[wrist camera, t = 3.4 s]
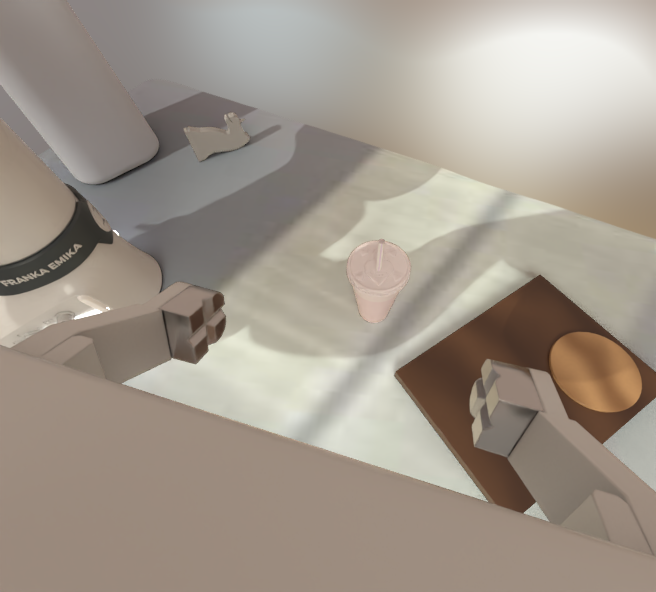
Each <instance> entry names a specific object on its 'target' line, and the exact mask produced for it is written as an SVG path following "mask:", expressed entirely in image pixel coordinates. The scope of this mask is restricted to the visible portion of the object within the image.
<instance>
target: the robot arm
mask: <svg viewBox="0 0 656 592" xmlns="http://www.w3.org/2000/svg"><path fill="white" fill-rule="evenodd" d="M161 285H162V274H161V269H160V267H159V265H158V263H157V262H156V260H155V259H154V258H153V257H152V256H150V255H149V254H147V253H145V252H143V251H141V250H139V249H137V248H136V247H134V246H133V245H131V244H130V243H128V242H127V241H126V240H124V239H123V238H122V237H120V236H119V234H118V233H117V232H116V231H113V230H112V229H111V227H110V225H109V223H108V222H107V220H106V219H105V218H104V217H103V216H102V215H101V214H100V212H99V211H98V210H97V209H96V208H95V207H94V206H93V205H92V204H91V203H90V202H89V201H88V200H86V199H85V198H84V197H83V196H82V195H81V194H80V193H79V192H78V191H77V190H76V189H75V188H73V187H72V186H70V185H68V184H65V183H63V182H62V181H61V180H60V179H59V178H58V177H57V176H56V174H55V173H54V172H53V171H52V170H51V169H50V168H49V167H48V166H47V165H46V164H45V163H44V162H43V161H42V160H41V159H40V158H39V157H38V156H37V155H36V154H35V153H34V152H33V151H32V150H31V149H30V148H29V147H28V146H27V145H26V144H25V143H24V142H23V141H22V139H20V137H19V136H18V135H16V133H15V132H14V131H13V130H12V129H11V128H10V127H9V126H8V125H7V124H6V123H5V122H4V121H3V120H2V119H1V118H0V592H656V492H655V491H654V490H653V489H651V488H650V487H649V486H648V485H647V484H646V483H645V482H644V481H643V480H641V479H640V478H639V477H638V476H637V475H636V474H635V473H634V472H632V471H631V470H630V469H629V468H628V467H627V466H626V465H625V464H623V463H622V462H621V461H620V460H619V459H618V458H617V457H616V456H614V455H613V454H612V453H611V452H610V451H609V450H608V449H607V448H605V447H604V446H603V445H602V444H601V443H600V442H599V441H598V440H596V439H595V438H594V437H593V436H592V435H591V434H590V433H589V432H587V431H586V430H585V429H584V428H583V427H582V426H581V425H580V424H578V423H577V422H576V421H574V420H570V419H569V418H568V416H567V413H566V411H565V409H564V406H563V404H562V402H561V399H560V397H559V395H558V392H557V390H556V388H555V385H554V383H553V381H552V379H551V376H550V374H548V373H547V372H545V371H541V370H536V369H532V368H527V367H526V368H525V367H520V366H516V365H512V364H508V363H504V362H500V361H495V360H491V359H487V360H486V361H485V362H484V364H483V366H482V368H481V373H482V378H480V379H478V380H476V381H475V383H474V385H473V388H472V391H471V395H470V413H471V415H472V416H473V417H474V418H475V420H474V422H473V424H472V433H473V441H474V447H477V448H480V449H483V450H486V451H489V452H492V453H495V454H498V455H502V456H505V457H508V461H509V462H510V464H511V465H512V467H513V468H514V470H515V471H516V472H517V474H518V475H519V477H520V478H521V480H522V481H523V483H524V484H525V486H526V487H527V489H528V490H529V492H530V493H531V495H532V496H533V498H534V499H535V501H536V502H537V504H538V505H539V507H540V508H541V510H542V511H543V513H544V514H545V516H546V517H547V518H548V520H549V521H550V522H548V521H545V520H542V519H539V518H536V517H533V516H529V515H526V514H523V513H520V512H517V511H514V510H511V509H508V508H505V507H502V506H498V505H495V504H492V503H489V502H486V501H483V500H480V499H477V498H474V497H471V496H467V495H464V494H461V493H458V492H455V491H452V490H449V489H446V488H443V487H440V486H436V485H433V484H430V483H427V482H424V481H421V480H418V479H415V478H412V477H409V476H405V475H402V474H399V473H396V472H393V471H390V470H387V469H384V468H381V467H378V466H374V465H371V464H368V463H365V462H362V461H359V460H356V459H353V458H350V457H347V456H343V455H340V454H337V453H334V452H331V451H328V450H325V449H322V448H319V447H316V446H313V445H309V444H306V443H303V442H300V441H297V440H294V439H291V438H288V437H285V436H282V435H278V434H275V433H272V432H269V431H266V430H263V429H260V428H257V427H254V426H251V425H247V424H244V423H241V422H238V421H235V420H232V419H229V418H226V417H223V416H219V415H216V414H213V413H210V412H207V411H204V410H201V409H198V408H195V407H191V406H188V405H185V404H182V403H179V402H176V401H173V400H170V399H167V398H163V397H160V396H157V395H154V394H151V393H148V392H145V391H142V390H139V389H136V388H133V387H129V386H126V385H123V384H121V383H123V382H125V381H127V380H129V379H131V378H133V377H136V376H138V375H140V374H142V373H144V372H146V371H148V370H150V369H152V368H154V367H156V366H158V365H161V364H163V363H165V362H167V361H169V360H171V358H174V359H177V360H181V361H185V362H189V363H193V364H197V363H198V362H199V361H200V359H201V358H202V357H203V356H204V355H205V354H206V353H207V352H208V345H210V344H213V343H216V342H217V341H218V340H219V339H220V337H221V336H222V334H223V332H224V330H225V325H226V315H225V314H224V312H223V311H222V309H221V308H222V307H223V306H224V304H225V302H224V295H223V294H222V293H221V292H218V291H214V290H211V289H207V288H203V287H200V286H196V285H192V284H188V283H184V282H175V283H174V284H172V285H171V286H170V287H168V288H167V289H165V290H164V291H162V292H161V293H159V292H160V289H161Z"/></svg>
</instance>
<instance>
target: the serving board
mask: <svg viewBox="0 0 656 592" xmlns="http://www.w3.org/2000/svg"><path fill="white" fill-rule="evenodd" d="M487 359H491V360H495V361H500V362H504V363H508V364H512V365H516V366H520V367H525V368H526V367H527V368H532V369H536V370H541V371H545V372H547V373H548V374H550V376H551V379H552V381H553V383H554V385H555V388H556V390H557V392H558V395H559V397H560V399H561V402H562V404H563V406H564V409H565V411H566V413H567V416H568V418H569V419H570V420H574V421H576V422H577V423H578V424H580V425H581V426H582V427H583V428H584V429H585V430H586V431H587V432H589V433H590V434H591V435H592V436H593V437H594V438H595V439H596V440H598V441H599V442H600V443H601V444H603V443H604V442H605V441H606V440H608V439H609V438H610V437H611V436H612V435H613V434H614V433H616V432H617V431H618V430H619V429H620V428H621V427H622V426H624V425H625V424H626V423H627V422H628V421H629V420H630V419H632V418H633V417H634V416H635V415H636V414H637V413H638V412H640V411H641V410H642V409H643V408H644V407H645V406H646V405H648V404H649V403H650V402H651V401H652V400H653V399H655V398H656V372H655V371H654V370H652V369H651V368H650V367H649V366H648V365H647V364H645V363H644V362H643V361H642V360H641V359H639V358H638V357H637V356H636V355H635V354H634V353H632V352H631V351H630V350H629V349H628V348H626V347H625V346H624V345H623V344H622V343H621V342H619V341H618V340H617V339H616V338H615V337H613V336H612V335H611V334H610V333H609V332H608V331H606V330H605V329H604V328H603V327H602V326H600V325H599V324H598V323H597V322H596V321H595V320H593V319H592V318H591V317H590V316H589V315H587V314H586V313H585V312H584V311H583V310H581V309H580V308H579V307H578V306H577V305H576V304H574V303H573V302H572V301H571V300H570V299H568V298H567V297H566V296H565V295H564V294H563V293H561V292H560V291H559V290H558V289H557V288H555V287H554V286H553V285H552V284H551V283H550V282H548V281H547V280H546V279H545V278H544V277H542V276H541V275H539V276H537V277H536V278H534V279H533V280H531V281H530V282H528V283H527V284H525V285H524V286H522V287H521V288H519V289H518V290H516V291H515V292H513V293H512V294H510V295H509V296H507V297H506V298H504V299H503V300H501V301H500V302H498V303H497V304H496V305H494V306H493V307H491V308H490V309H488V310H487V311H485V312H484V313H482V314H481V315H479V316H478V317H476V318H475V319H473V320H472V321H470V322H469V323H467V324H466V325H464V326H463V327H461V328H460V329H458V330H457V331H455V332H454V333H452V334H451V335H449V336H448V337H446V338H445V339H443V340H442V341H440V342H439V343H437V344H436V345H434V346H433V347H431V348H430V349H429V350H427V351H426V352H424V353H423V354H421V355H420V356H418V357H417V358H415V359H414V360H412V361H411V362H409V363H408V364H406V365H405V366H403V367H402V368H400V369H399V370H397V371H396V372H395V375H394V376H395V377H396V379H397V380H398V381H399V383H400V384H401V385H402V387H403V388H404V389H405V391H406V392H407V393H408V395H409V396H410V397H411V399H412V400H413V401H414V403H415V404H416V405H417V407H418V408H419V409H420V411H421V412H422V413H423V415H424V416H425V417H426V419H427V420H428V421H429V423H430V424H431V425H432V427H433V428H434V429H435V431H436V432H437V433H438V435H439V436H440V437H441V439H442V440H443V441H444V443H445V444H446V445H447V447H448V448H449V449H450V451H451V452H452V453H453V455H454V456H455V457H456V459H457V460H458V461H459V463H460V464H461V466H462V467H463V468H464V470H465V471H466V472H467V474H468V475H469V476H470V478H471V479H472V480H473V482H474V483H475V484H476V486H477V487H478V488H479V490H480V491H481V492H482V494H483V495H484V496H485V498H486V499H487V500H488V502H489V503H492V504H495V505H498V506H502V507H505V508H508V509H511V510H514V511H517V512H520V513H524V512H525V511H526V510H527V509H528V508H530V507H531V506H532V505H533V504H534V503H535V502H536V501H535V499H534V498H533V496H532V495H531V493H530V492H529V490H528V489H527V487H526V486H525V484H524V483H523V481H522V480H521V478H520V477H519V475H518V474H517V472H516V471H515V470H514V468H513V467H512V465H511V464H510V462H509V461H508V457H505V456H502V455H498V454H495V453H492V452H489V451H486V450H483V449H480V448H477V447H474V441H473V433H472V424H473V422H474V420H475V418H474V417H473V416H472V415H471V413H470V395H471V391H472V388H473V385H474V383H475V381H476V380H478V379H480V378H482V373H481V368H482V366H483V364H484V362H485V361H486V360H487Z"/></svg>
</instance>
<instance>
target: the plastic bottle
mask: <svg viewBox="0 0 656 592" xmlns="http://www.w3.org/2000/svg"><path fill="white" fill-rule="evenodd" d="M0 85H1V86H2V87H3V88H4V89H5V91H6V92H7V93H8V95H9V96H10V97H11V98H12V99H13V101H14V102H15V103H16V104H17V106H18V107H19V108H20V110H21V111H22V112H23V113H24V114H25V116H26V117H27V118H28V119H29V121H30V122H31V123H32V124H33V126H34V127H35V128H36V129H37V131H38V132H39V133H40V134H41V136H42V137H43V138H44V140H45V141H46V142H47V143H48V145H49V146H50V147H51V148H52V150H53V151H54V152H55V153H56V155H57V156H58V157H59V158H60V160H61V161H62V162H63V163H64V165H65V166H66V167H67V168H68V170H69V171H70V172H71V173H72V175H73V176H74V177H75V178H76V179H77V180H79V181H81V182H83V183H86V184H100V183H104V182H107V181H109V180H111V179H113V178H115V177H117V176H119V175H121V174H123V173H125V172H127V171H129V170H131V169H133V168H135V167H137V166H139V165H142V164H144V163H146V162H147V161H149V160H150V159H152V158H153V157H154V156H155V155H156V153H157V151H158V149H159V141H158V138H157V136H156V135H155V133H154V132H153V130H152V129H151V127H150V126H149V124H148V123H147V121H146V120H145V118H144V117H143V115H142V114H141V112H140V111H139V109H138V108H137V106H136V105H135V103H134V102H133V100H132V99H131V97H130V96H129V94H128V93H127V91H126V90H125V88H124V87H123V85H122V84H121V82H120V81H119V79H118V78H117V76H116V75H115V73H114V72H113V70H112V69H111V67H110V65H109V64H108V62H107V61H106V60H105V58H104V56H103V55H102V53H101V52H100V50H99V49H98V47H97V46H96V44H95V43H94V41H93V40H92V38H91V37H90V35H89V34H88V32H87V31H86V29H85V28H84V26H83V25H82V23H81V22H80V20H79V19H78V17H77V16H76V14H75V13H74V11H73V10H72V8H71V7H70V5H69V3H68V2H67V0H0Z"/></svg>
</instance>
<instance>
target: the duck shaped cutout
mask: <svg viewBox="0 0 656 592" xmlns="http://www.w3.org/2000/svg"><path fill="white" fill-rule="evenodd" d="M228 116H229V117H228ZM224 119H225V121H226V123H227V125H228V130H223V129H220V128H215V127H202V128H196V127H190V126H188V128H183V129H184V132H185V134H186V136H187V138H188V140H189V142H190V144H191V146H192V148H193V150H194V152H195V154H196V156H197V158H198V160H199V162H201V161H202V160H205V159H206V158H207V157H208V156H209V155H210V154H213V152H214V153H215V151H216V152H221V150H222V152H223V151H224V152H225V150H226V151H227V152H228V150H229V151H230V150H231V151H232V150H233V151H234V149H235V150H236V148H237V149H238V147H239V148H241V146H242V147H243V145H244V146H245V144H246V143H248V141H249V139H250V137H249V135H248V133H247V132H244V131H243V129H242V126H241V123H242V122H243V121H244V120H245V119H238V117H237V115H236V113H232V112H231V113H228V115H227V114H225V115H224Z"/></svg>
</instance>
